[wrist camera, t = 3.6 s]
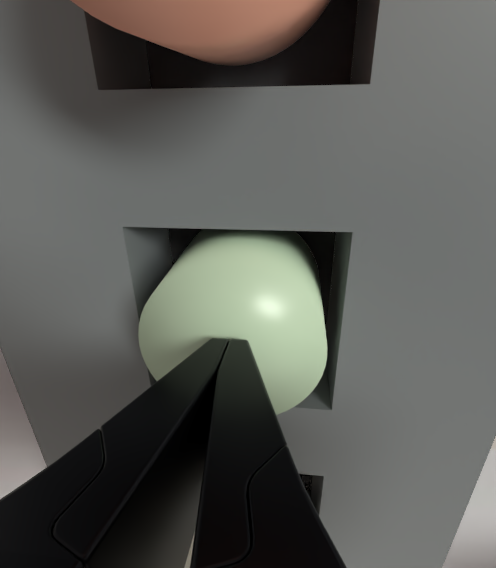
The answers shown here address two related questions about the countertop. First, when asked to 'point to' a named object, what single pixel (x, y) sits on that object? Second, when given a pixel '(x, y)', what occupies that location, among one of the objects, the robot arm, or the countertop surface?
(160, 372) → the sage button
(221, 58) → the coral button
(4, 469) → the countertop surface
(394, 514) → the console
